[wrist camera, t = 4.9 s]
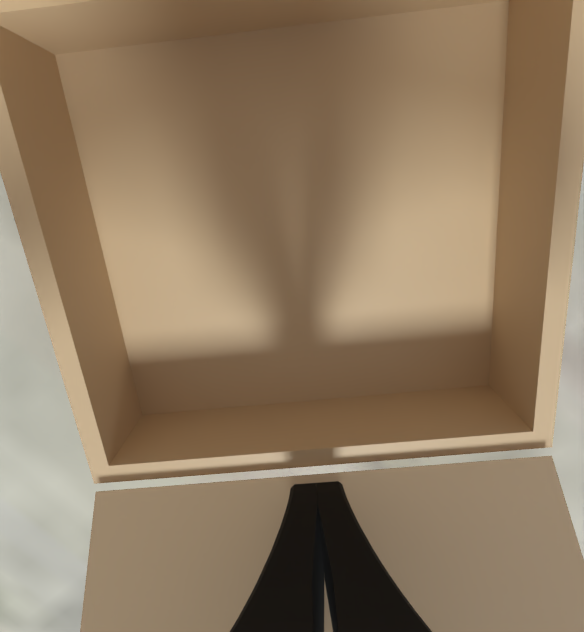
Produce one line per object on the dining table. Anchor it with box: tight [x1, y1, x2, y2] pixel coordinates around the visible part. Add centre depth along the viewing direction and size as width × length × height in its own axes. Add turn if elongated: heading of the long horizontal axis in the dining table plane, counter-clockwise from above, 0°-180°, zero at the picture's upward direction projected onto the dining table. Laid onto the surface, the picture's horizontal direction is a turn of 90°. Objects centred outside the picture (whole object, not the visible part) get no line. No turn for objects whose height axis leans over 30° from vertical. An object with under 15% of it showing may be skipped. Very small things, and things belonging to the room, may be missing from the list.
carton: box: [0, 0, 584, 484], centre depth 12 cm, size 14×13×4 cm
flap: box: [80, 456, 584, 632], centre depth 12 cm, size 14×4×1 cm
